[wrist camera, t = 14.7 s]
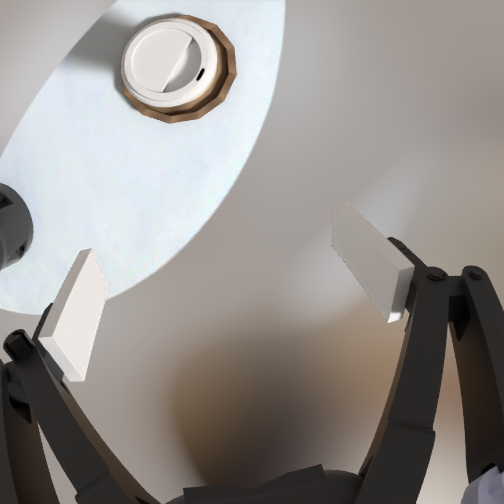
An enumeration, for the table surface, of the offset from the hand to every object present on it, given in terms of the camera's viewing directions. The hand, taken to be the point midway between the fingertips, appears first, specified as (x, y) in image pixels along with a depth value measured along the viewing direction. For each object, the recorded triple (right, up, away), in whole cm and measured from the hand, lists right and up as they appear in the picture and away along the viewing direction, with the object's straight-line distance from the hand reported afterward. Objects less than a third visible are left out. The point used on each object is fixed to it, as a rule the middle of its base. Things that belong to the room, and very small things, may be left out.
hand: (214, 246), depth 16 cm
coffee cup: (-8, +25, +20) cm, 33 cm away
